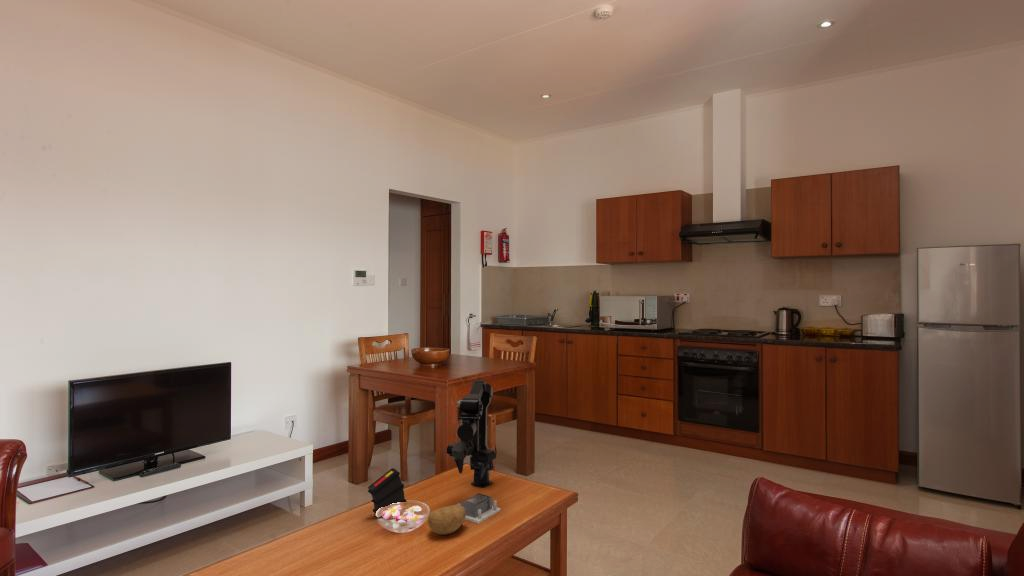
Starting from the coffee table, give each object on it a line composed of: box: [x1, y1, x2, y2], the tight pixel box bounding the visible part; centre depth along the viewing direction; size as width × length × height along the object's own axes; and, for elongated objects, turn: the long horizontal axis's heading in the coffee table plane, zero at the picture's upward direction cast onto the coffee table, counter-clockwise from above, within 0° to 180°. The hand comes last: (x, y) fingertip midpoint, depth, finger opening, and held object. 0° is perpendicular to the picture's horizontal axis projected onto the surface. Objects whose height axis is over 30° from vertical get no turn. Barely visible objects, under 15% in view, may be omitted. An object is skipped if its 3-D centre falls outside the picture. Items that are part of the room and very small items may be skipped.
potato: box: [427, 504, 466, 536], centre depth 171 cm, size 10×14×8 cm
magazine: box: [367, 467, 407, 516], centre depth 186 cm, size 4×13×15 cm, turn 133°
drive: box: [461, 493, 493, 518], centre depth 186 cm, size 10×6×4 cm, turn 146°
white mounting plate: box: [456, 494, 501, 524], centre depth 186 cm, size 13×11×4 cm
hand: (470, 475), depth 191 cm, fingers open, 9 cm apart
